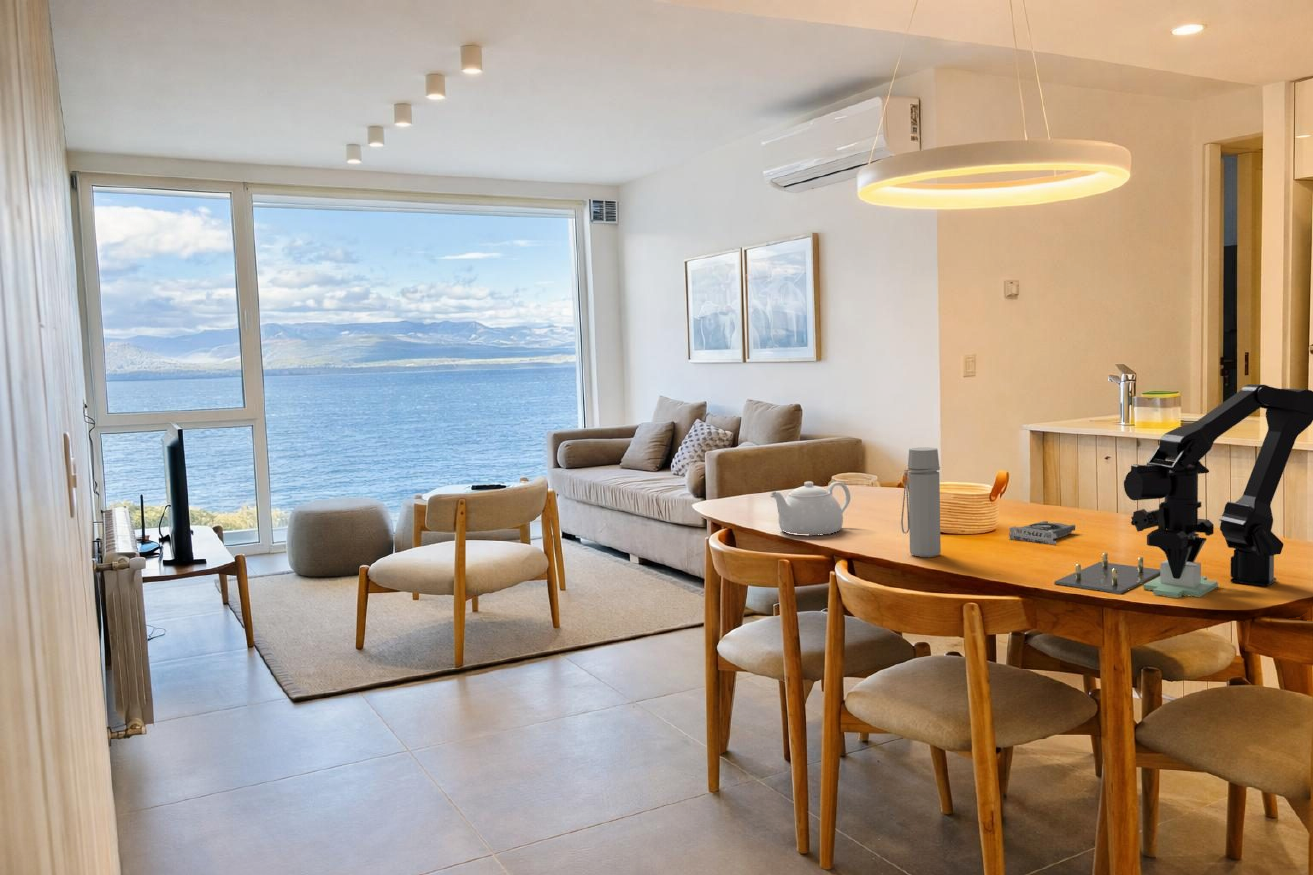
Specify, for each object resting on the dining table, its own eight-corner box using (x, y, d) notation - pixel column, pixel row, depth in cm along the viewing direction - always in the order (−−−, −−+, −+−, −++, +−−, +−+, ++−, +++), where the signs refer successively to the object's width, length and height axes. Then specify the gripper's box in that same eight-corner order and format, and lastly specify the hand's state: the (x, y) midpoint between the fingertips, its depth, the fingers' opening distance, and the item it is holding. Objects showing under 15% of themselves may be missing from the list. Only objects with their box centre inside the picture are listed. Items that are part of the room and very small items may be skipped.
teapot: (840, 538, 253) (839, 486, 252) (770, 536, 259) (769, 486, 258) (851, 525, 271) (850, 476, 269) (786, 524, 277) (784, 476, 276)
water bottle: (945, 552, 231) (944, 447, 229) (936, 559, 224) (934, 451, 222) (907, 549, 236) (905, 446, 233) (896, 556, 229) (894, 450, 227)
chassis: (1163, 572, 203) (1163, 555, 203) (1120, 593, 188) (1120, 575, 188) (1099, 564, 213) (1099, 548, 212) (1054, 584, 198) (1054, 566, 197)
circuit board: (1222, 583, 192) (1222, 558, 192) (1193, 600, 182) (1194, 574, 181) (1168, 576, 200) (1168, 552, 199) (1137, 592, 189) (1137, 566, 188)
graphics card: (1054, 533, 234) (1007, 526, 243) (1053, 548, 234) (1007, 541, 243) (1088, 523, 244) (1042, 517, 253) (1087, 538, 245) (1042, 531, 254)
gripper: (1155, 487, 201) (1154, 562, 203) (1118, 500, 189) (1118, 579, 190) (1214, 492, 193) (1214, 569, 195) (1180, 505, 180) (1180, 588, 182)
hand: (1180, 576), depth 190 cm, fingers closed on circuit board, 4 cm apart
